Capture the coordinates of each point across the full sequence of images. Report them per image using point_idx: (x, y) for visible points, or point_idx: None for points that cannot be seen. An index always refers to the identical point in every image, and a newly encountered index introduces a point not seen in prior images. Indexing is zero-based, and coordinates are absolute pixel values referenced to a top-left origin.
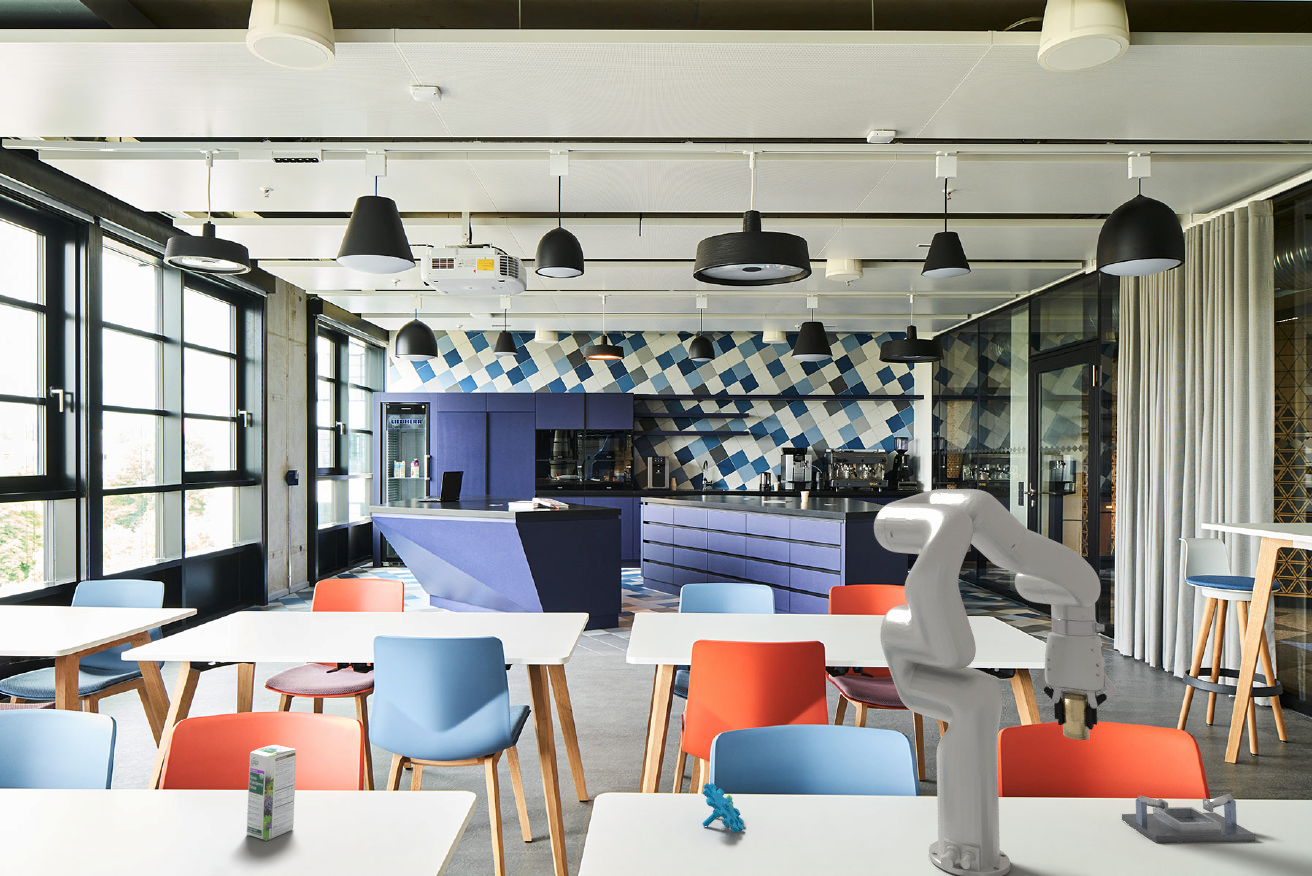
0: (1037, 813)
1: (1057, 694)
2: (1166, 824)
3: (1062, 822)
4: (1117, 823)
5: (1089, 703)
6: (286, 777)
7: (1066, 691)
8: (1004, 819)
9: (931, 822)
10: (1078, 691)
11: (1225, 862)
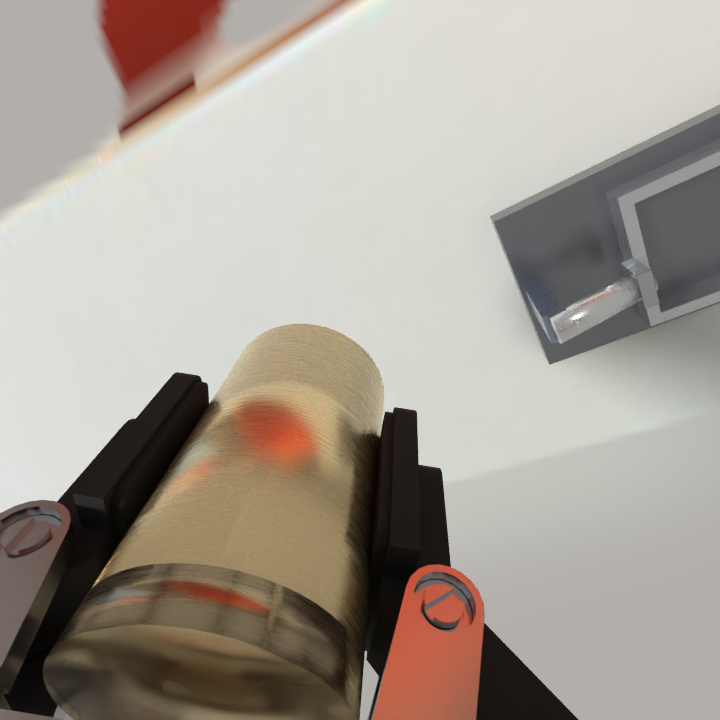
0: (243, 262)
1: (38, 699)
2: (621, 260)
3: (314, 304)
4: (470, 245)
5: (373, 666)
6: None
7: (79, 668)
8: (175, 343)
9: (47, 420)
10: (221, 642)
11: (683, 407)
